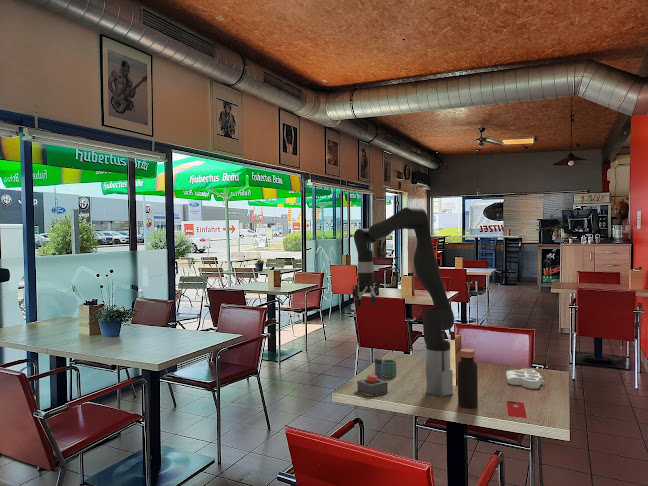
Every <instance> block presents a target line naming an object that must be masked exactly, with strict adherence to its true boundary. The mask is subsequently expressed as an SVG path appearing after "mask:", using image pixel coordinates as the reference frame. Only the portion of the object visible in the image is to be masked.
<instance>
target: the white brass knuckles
mask: <svg viewBox="0 0 648 486" xmlns="http://www.w3.org/2000/svg"><path fill="white" fill-rule="evenodd" d="M505 375H506V381H507V383H508V384H509V385H515V386H516V385H517V386H522V387H524V388H527V389H533V390H534V389H539V388H540V386H541V385H542V384H544V383H546V380H543V378H545V377H544V376H542V375H541V373H539V372H537V371H536V370H535V369H533V368H522V369H510V370H507V371H505Z"/></svg>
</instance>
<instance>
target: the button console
mask: <svg viewBox="0 0 648 486" xmlns="http://www.w3.org/2000/svg"><path fill="white" fill-rule="evenodd" d="M388 385H389V384H388V381H385V380H383V379H382V380H381V379H378V378H377V383H374V384H370V383H367V378H364V379H358V380H357V385H356V386H357V387H356V388H357V391H358V392H359V391H361V392H360V393H362V392H363V393H362V394H364V393H366V394H369V395H375V396H377V395H376V394H379V395H382V394H381V393H383V394H386V392H387V393H389V391H388ZM366 394H365V395H366ZM369 395H368V396H369Z"/></svg>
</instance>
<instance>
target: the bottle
mask: <svg viewBox="0 0 648 486" xmlns="http://www.w3.org/2000/svg"><path fill="white" fill-rule="evenodd" d="M459 351H460V352H459V353H460V355H459V356H460V359H461V360H460V361H459V362H457V404H458V406H459V407H461V408H464V409H467V410H469V409H471V410H473V409H476V408H477V407H478V405H479V402H478V400H479V397H478V395H479V392H478V388H479V387H478V386H479V385H478V383H479V382H478V381H479V379H478V363H477V362H476V361H475V360H474V359H475V355H476V354H475V353H476V352H475V349H472V348H461V349H460V350H459Z"/></svg>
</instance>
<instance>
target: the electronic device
mask: <svg viewBox="0 0 648 486" xmlns="http://www.w3.org/2000/svg"><path fill="white" fill-rule="evenodd" d="M506 408H507V409H506V410H507V416H508V417H513V416H514V417H515V418H521V419H522V418H523V419H527V418H528V417H527V413H526V407H525V403H524V402H520V401H512V400H511V401H510V400H507V401H506Z"/></svg>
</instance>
